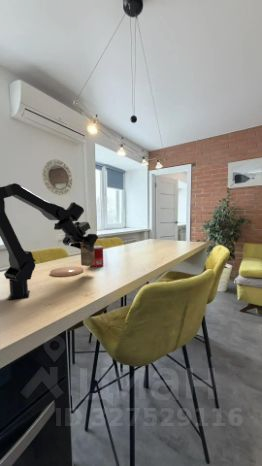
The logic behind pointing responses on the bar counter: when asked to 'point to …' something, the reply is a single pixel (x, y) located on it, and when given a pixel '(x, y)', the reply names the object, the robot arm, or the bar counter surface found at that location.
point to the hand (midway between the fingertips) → (89, 250)
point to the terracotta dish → (66, 271)
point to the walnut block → (87, 256)
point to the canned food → (98, 256)
